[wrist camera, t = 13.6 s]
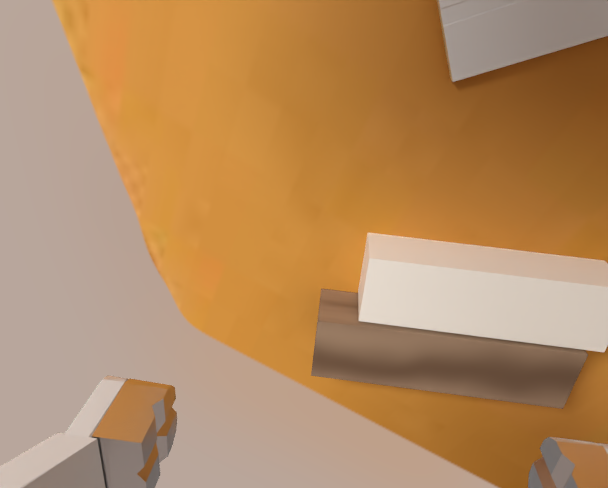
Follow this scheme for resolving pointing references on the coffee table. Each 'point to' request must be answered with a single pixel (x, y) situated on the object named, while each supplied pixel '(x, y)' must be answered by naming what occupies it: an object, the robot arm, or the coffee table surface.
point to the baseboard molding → (514, 30)
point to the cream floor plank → (485, 292)
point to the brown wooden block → (439, 358)
